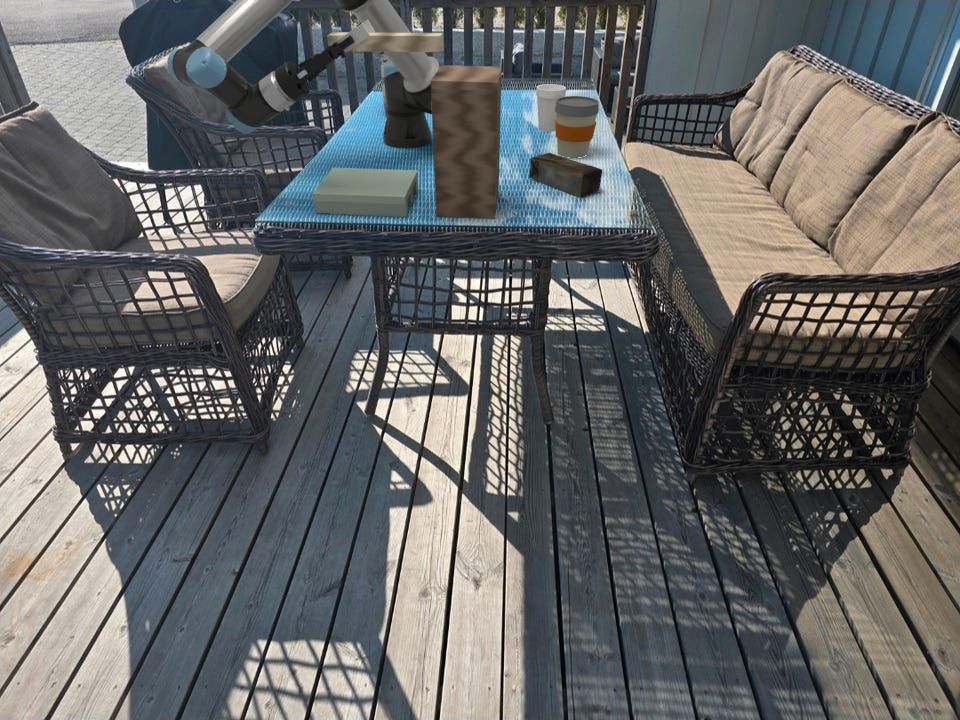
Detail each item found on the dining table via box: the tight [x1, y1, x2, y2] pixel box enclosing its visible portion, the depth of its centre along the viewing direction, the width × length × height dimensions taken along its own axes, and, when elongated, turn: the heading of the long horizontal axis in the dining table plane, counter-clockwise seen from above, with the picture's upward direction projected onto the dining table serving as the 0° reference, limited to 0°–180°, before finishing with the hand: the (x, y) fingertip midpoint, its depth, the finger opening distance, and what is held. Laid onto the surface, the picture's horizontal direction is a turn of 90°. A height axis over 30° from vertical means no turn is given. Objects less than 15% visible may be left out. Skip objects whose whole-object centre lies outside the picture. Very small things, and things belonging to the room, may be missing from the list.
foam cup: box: [535, 83, 567, 133], centre depth 197 cm, size 10×9×13 cm
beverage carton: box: [528, 152, 603, 198], centre depth 158 cm, size 8×19×7 cm, turn 41°
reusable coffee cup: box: [554, 95, 600, 159], centre depth 176 cm, size 13×13×15 cm
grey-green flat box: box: [311, 167, 419, 218], centre depth 148 cm, size 22×18×5 cm
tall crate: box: [431, 64, 503, 220], centre depth 139 cm, size 14×16×30 cm
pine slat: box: [326, 31, 444, 53], centre depth 127 cm, size 24×4×3 cm, turn 86°
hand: (368, 27), depth 125 cm, fingers closed on pine slat, 4 cm apart
